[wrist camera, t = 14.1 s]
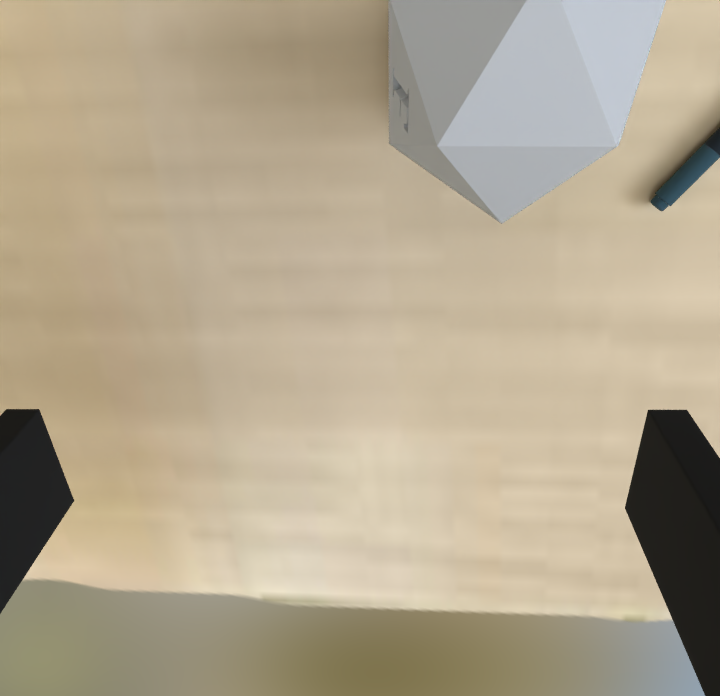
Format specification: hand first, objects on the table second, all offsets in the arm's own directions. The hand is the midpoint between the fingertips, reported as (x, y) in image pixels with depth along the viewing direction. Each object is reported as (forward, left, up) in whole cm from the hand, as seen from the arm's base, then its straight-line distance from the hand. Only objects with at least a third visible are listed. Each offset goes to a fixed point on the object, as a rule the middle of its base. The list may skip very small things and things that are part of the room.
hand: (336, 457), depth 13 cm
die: (+5, +6, -17) cm, 19 cm away
